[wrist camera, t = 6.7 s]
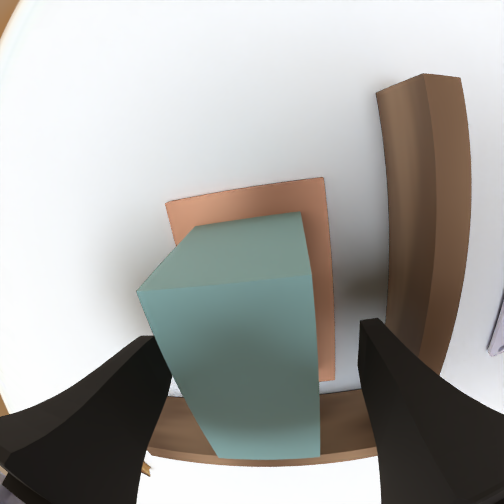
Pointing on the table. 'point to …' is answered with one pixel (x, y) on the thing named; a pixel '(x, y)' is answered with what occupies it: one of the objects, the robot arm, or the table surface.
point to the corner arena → (400, 259)
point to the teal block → (242, 335)
